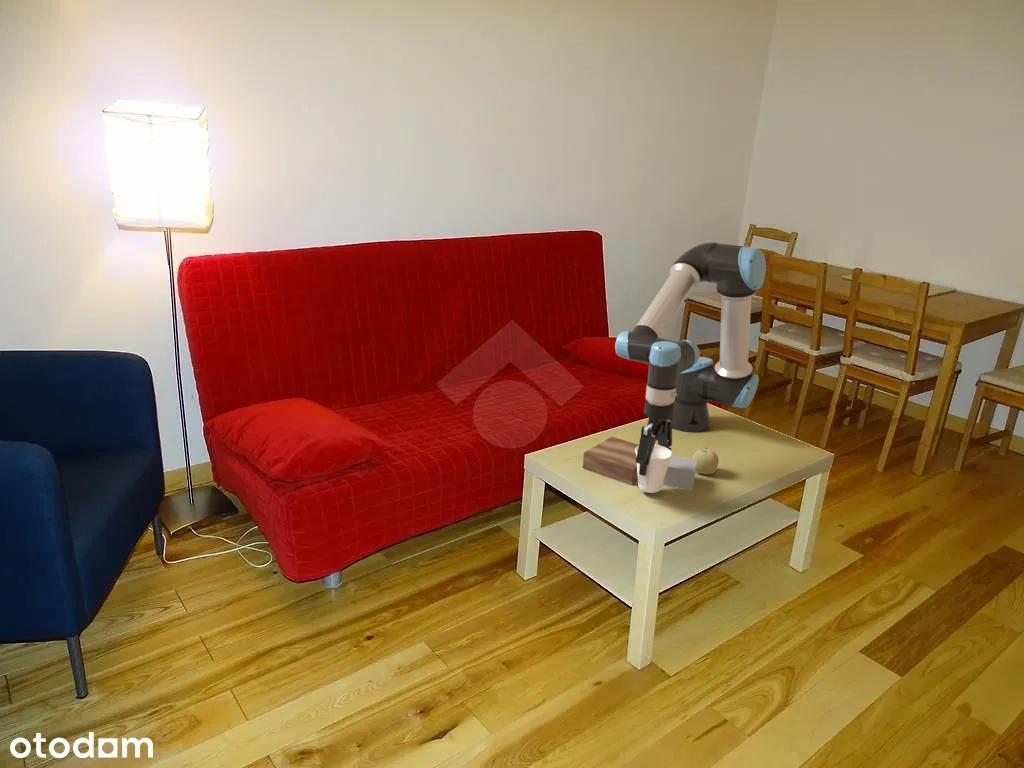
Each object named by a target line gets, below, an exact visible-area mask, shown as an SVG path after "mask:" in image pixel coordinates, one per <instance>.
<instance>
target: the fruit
mask: <svg viewBox="0 0 1024 768" xmlns="http://www.w3.org/2000/svg"><path fill="white" fill-rule="evenodd" d="M691 459H695V460H697V466H696V473H698V474H703V475H711V474H713V473H715V472H716V470H717V468H718V466H719V456H718V454H717V453H716V452H715V451H713V450H711V449H708V448H707V447H705V449H699V450H697V451H695V452H694V454H693V456H692V458H691Z"/></svg>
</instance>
